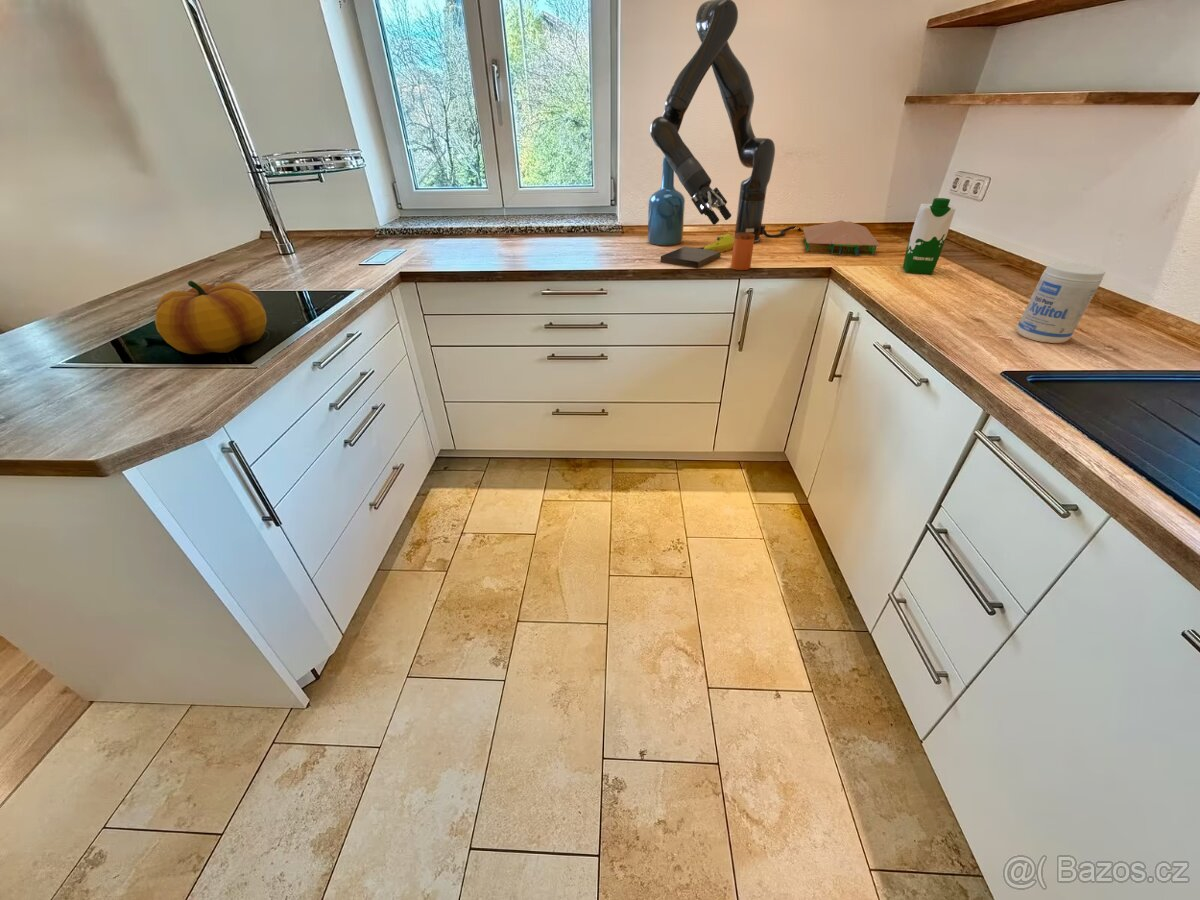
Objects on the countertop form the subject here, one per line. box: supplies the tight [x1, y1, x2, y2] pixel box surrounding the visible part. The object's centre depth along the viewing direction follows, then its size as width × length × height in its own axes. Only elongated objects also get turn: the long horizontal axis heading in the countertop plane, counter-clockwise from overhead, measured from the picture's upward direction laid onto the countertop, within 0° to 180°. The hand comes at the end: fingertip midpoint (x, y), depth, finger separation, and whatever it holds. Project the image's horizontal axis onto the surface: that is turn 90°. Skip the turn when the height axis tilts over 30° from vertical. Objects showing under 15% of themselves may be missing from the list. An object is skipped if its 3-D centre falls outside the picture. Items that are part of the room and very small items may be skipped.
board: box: [660, 246, 722, 269], centre depth 171 cm, size 16×14×2 cm
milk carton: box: [902, 197, 956, 275], centre depth 149 cm, size 9×9×20 cm
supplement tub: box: [1016, 261, 1106, 344], centre depth 107 cm, size 10×10×15 cm
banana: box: [698, 233, 735, 253], centre depth 184 cm, size 5×17×15 cm
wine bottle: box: [647, 155, 686, 246], centre depth 185 cm, size 14×13×30 cm
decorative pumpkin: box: [154, 280, 268, 355], centre depth 113 cm, size 20×22×15 cm
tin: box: [730, 232, 755, 271], centre depth 159 cm, size 6×6×10 cm
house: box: [802, 220, 881, 257], centre depth 181 cm, size 23×33×8 cm
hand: (723, 220), depth 158 cm, fingers open, 8 cm apart
